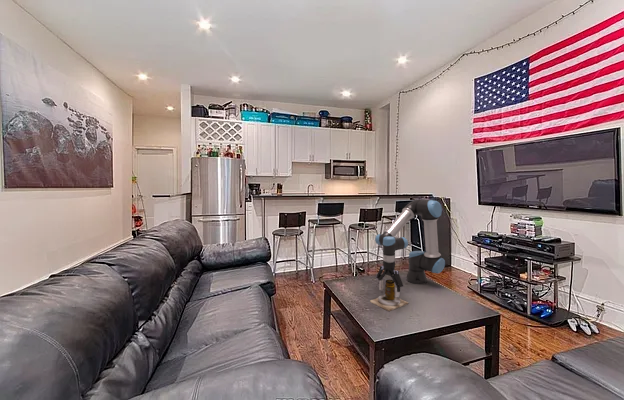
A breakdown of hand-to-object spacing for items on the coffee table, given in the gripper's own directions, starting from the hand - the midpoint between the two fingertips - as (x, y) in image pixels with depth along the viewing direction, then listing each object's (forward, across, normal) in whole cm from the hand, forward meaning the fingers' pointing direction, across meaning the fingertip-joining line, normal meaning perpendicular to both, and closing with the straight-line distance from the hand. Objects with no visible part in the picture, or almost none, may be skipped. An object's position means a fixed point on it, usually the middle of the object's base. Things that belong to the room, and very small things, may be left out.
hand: (389, 293), depth 182 cm
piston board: (+6, 0, 0) cm, 7 cm away
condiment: (+4, 0, 0) cm, 4 cm away
